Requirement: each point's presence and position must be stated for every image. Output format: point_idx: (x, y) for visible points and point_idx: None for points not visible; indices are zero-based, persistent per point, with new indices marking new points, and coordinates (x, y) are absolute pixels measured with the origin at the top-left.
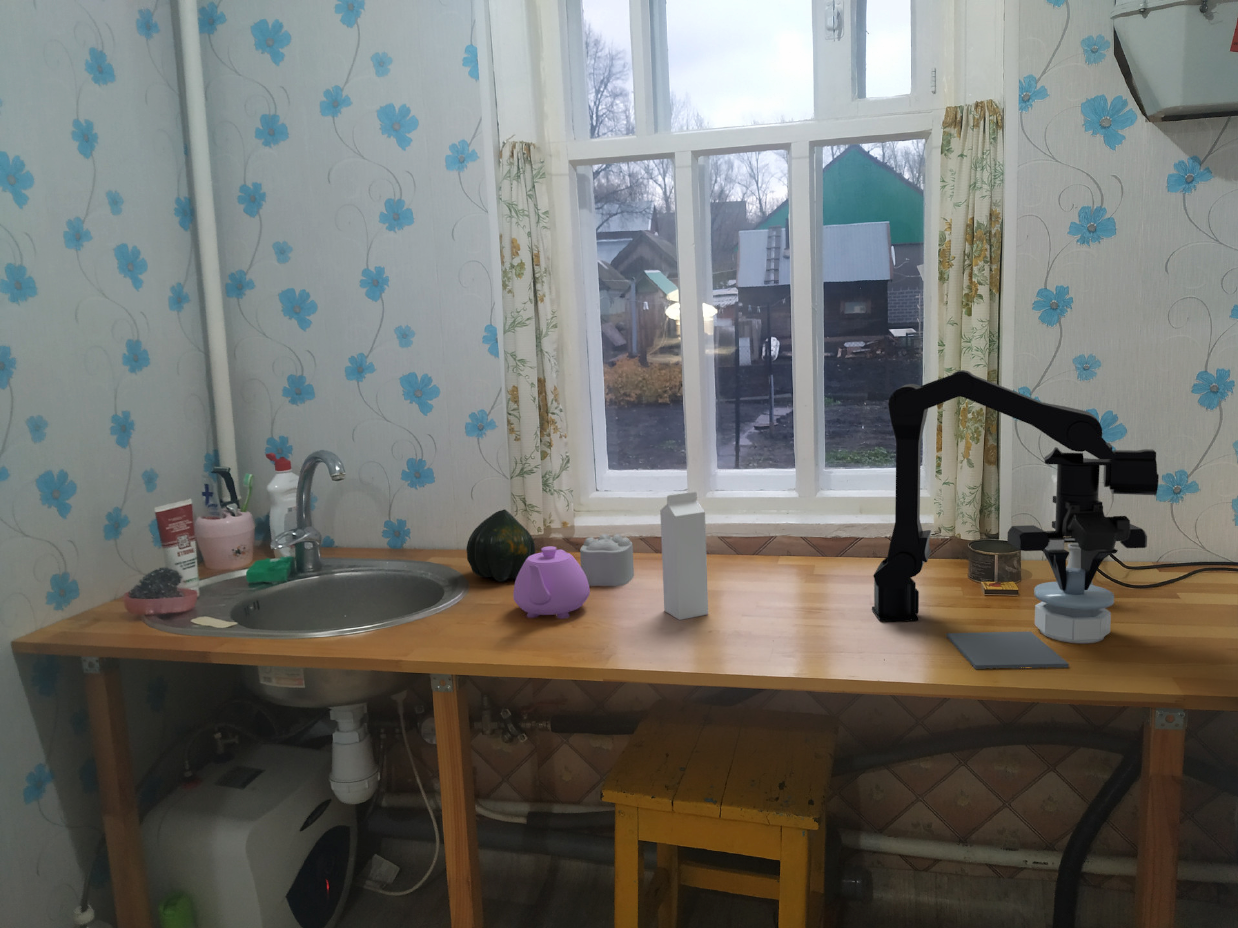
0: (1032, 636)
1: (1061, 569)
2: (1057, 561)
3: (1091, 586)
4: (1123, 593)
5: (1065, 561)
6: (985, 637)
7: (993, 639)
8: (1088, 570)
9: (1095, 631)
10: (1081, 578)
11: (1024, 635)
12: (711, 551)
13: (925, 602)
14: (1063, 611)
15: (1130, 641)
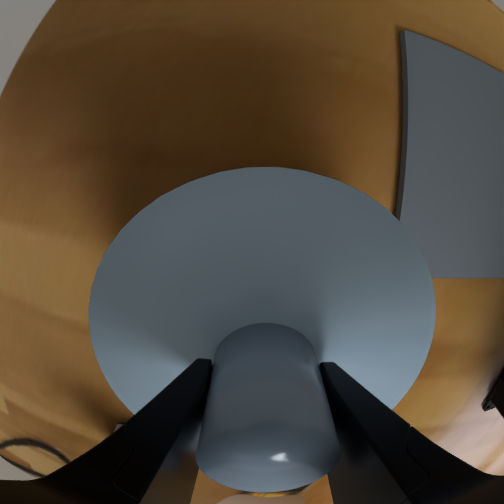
0: None
1: (407, 441)
2: (470, 476)
3: None
4: (69, 441)
5: (414, 495)
6: (497, 243)
7: (491, 227)
8: (178, 444)
9: None
10: (249, 392)
11: (422, 246)
12: None
13: (436, 439)
14: None
15: (124, 194)
